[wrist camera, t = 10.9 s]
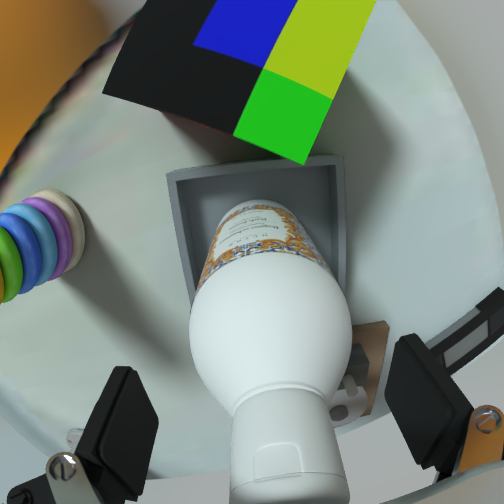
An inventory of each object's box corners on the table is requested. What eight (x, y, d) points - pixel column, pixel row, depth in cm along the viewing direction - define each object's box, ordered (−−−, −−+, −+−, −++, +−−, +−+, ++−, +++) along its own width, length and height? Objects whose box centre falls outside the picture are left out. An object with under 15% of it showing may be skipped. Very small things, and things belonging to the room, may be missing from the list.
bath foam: (292, 187, 22) (465, 392, 3) (310, 269, 24) (409, 508, 6) (204, 211, 23) (78, 457, 4) (229, 289, 25) (208, 544, 6)
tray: (335, 294, 26) (344, 310, 23) (200, 308, 26) (195, 325, 24) (332, 154, 22) (343, 155, 19) (175, 170, 22) (166, 173, 19)
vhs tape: (408, 349, 30) (415, 359, 28) (496, 284, 27) (506, 291, 25) (419, 382, 32) (425, 392, 30) (498, 323, 29) (506, 331, 27)
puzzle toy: (211, 5, 17) (191, -63, 8) (328, 48, 19) (377, -2, 9) (159, 110, 20) (101, 93, 11) (279, 155, 22) (303, 165, 13)
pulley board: (367, 407, 32) (381, 444, 26) (290, 421, 32) (296, 461, 27) (384, 320, 27) (410, 358, 21) (287, 335, 28) (295, 380, 22)
